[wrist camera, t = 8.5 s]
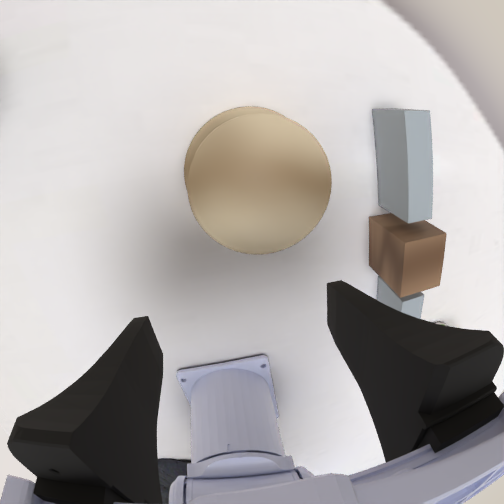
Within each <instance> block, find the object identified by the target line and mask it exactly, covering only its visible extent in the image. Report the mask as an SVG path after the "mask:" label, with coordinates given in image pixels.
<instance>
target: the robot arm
mask: <svg viewBox="0 0 504 504" xmlns="http://www.w3.org/2000/svg"><path fill="white" fill-rule="evenodd" d="M327 324H328V326H329V329H330V332H331V334H332V337H333V339H334V342H335V344H336V346H337V347H338V349H339V351H340V353H341V355H342V356H343V358H344V360H345V362H346V363H347V365H348V367H349V369H350V370H351V372H352V374H353V376H354V378H355V379H356V381H357V383H358V385H359V387H360V389H361V391H362V394H363V396H364V399H365V401H366V403H367V406H368V408H369V411H370V414H371V417H372V419H373V422H374V425H375V428H376V431H377V434H378V437H379V440H380V443H381V446H382V450H383V453H384V457H385V461H386V463H383V464H381V465H378V466H375V467H373V468H370V469H367V470H364V471H361V472H358V473H355V474H352V475H349V476H347V475H344V474H333V473H330V474H325V475H319V476H314V475H313V474H312V473H311V472H309V471H308V470H307V469H306V468H305V467H302V466H300V467H294V463H293V459H292V456H285V452H284V448H283V444H282V440H281V435H280V431H279V427H278V423H277V418H278V417H279V414H278V409H277V403H276V398H275V393H274V388H273V382H272V377H271V372H270V366H269V361H268V358H267V356H265V355H260V356H256V357H251V358H246V359H241V360H235V361H230V362H225V363H219V364H213V365H207V366H201V367H195V368H189V369H182V370H178V371H177V373H176V377H177V379H178V381H179V383H180V385H181V387H182V389H183V392H184V394H185V396H186V398H187V400H188V402H189V404H190V406H191V463H188V464H187V476H178V477H177V478H176V480H175V481H174V482H173V483H172V484H171V486H170V491H169V504H463V503H464V502H466V501H467V500H469V499H470V498H472V497H473V496H475V495H476V494H478V493H479V492H481V491H482V490H483V489H485V488H486V487H488V486H489V485H491V484H492V483H493V482H494V481H496V480H497V479H499V478H500V477H501V476H503V475H504V392H503V393H502V394H501V395H500V396H499V398H498V397H497V396H496V394H495V393H494V392H495V391H496V389H497V388H496V386H495V385H494V383H493V382H492V380H493V379H494V376H495V374H496V372H497V370H498V368H499V366H500V364H501V361H502V359H503V354H504V348H503V345H502V344H501V343H500V342H499V341H498V340H497V339H496V338H495V337H494V336H493V335H492V334H491V333H490V332H489V331H482V330H469V329H461V328H455V327H449V326H444V325H440V324H436V323H432V322H428V321H425V320H422V319H419V318H416V317H413V316H410V315H408V314H405V313H403V312H400V311H398V310H396V309H394V308H391V307H389V306H387V305H385V304H383V303H381V302H379V301H377V300H376V299H374V298H372V297H370V296H368V295H367V294H365V293H363V292H361V291H360V290H358V289H356V288H354V287H353V286H351V285H349V284H347V283H345V282H344V281H342V280H340V281H336V282H331V283H327ZM262 364H265V365H262ZM162 378H163V353H162V350H161V348H160V346H159V343H158V341H157V338H156V336H155V333H154V330H153V328H152V325H151V323H150V320H149V317H148V316H145V317H139V318H134V319H133V320H132V321H131V322H130V323H129V324H128V326H127V327H126V328H125V329H124V330H123V332H122V333H121V334H120V335H119V336H118V338H117V339H116V340H115V341H114V342H113V344H112V345H111V346H110V347H109V348H108V350H107V351H106V352H105V353H104V354H103V355H102V356H101V357H100V358H99V359H98V361H97V362H96V363H95V364H94V365H93V366H92V367H91V368H90V369H89V370H88V371H87V372H86V373H85V374H84V375H82V376H81V377H80V378H79V379H78V380H77V381H76V382H74V383H73V384H72V385H71V386H69V387H68V388H67V389H65V390H64V391H63V392H61V393H60V394H59V395H57V396H56V397H54V398H53V399H51V400H50V401H48V402H46V403H45V404H43V405H41V406H40V407H38V408H36V409H34V410H32V411H30V412H28V413H26V414H24V415H22V416H20V417H17V419H16V422H15V424H14V427H13V429H12V432H11V435H10V437H9V440H8V443H7V444H8V448H9V450H10V451H11V453H12V454H13V456H14V457H15V458H16V459H17V460H18V461H19V462H21V463H22V464H23V465H24V466H25V467H26V468H27V469H29V470H30V471H31V472H32V473H33V474H35V475H36V476H37V480H36V483H34V482H32V481H30V480H27V479H23V478H20V477H16V476H12V475H8V476H7V479H6V482H5V486H4V489H3V493H2V497H1V500H0V504H163V502H162V496H161V489H160V481H159V471H158V458H157V417H158V409H159V401H160V394H161V386H162ZM182 378H185V379H182Z"/></svg>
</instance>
